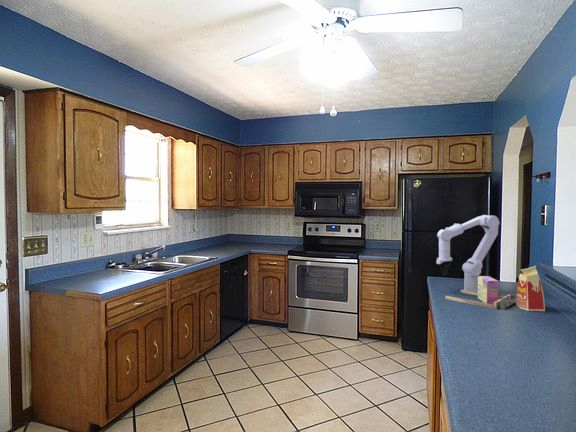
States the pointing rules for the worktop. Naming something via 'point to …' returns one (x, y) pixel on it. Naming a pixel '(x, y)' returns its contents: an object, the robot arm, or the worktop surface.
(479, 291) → the box
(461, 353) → the worktop surface
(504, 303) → the bay
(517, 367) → the worktop surface
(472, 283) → the robot arm
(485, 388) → the worktop surface
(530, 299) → the milk carton
